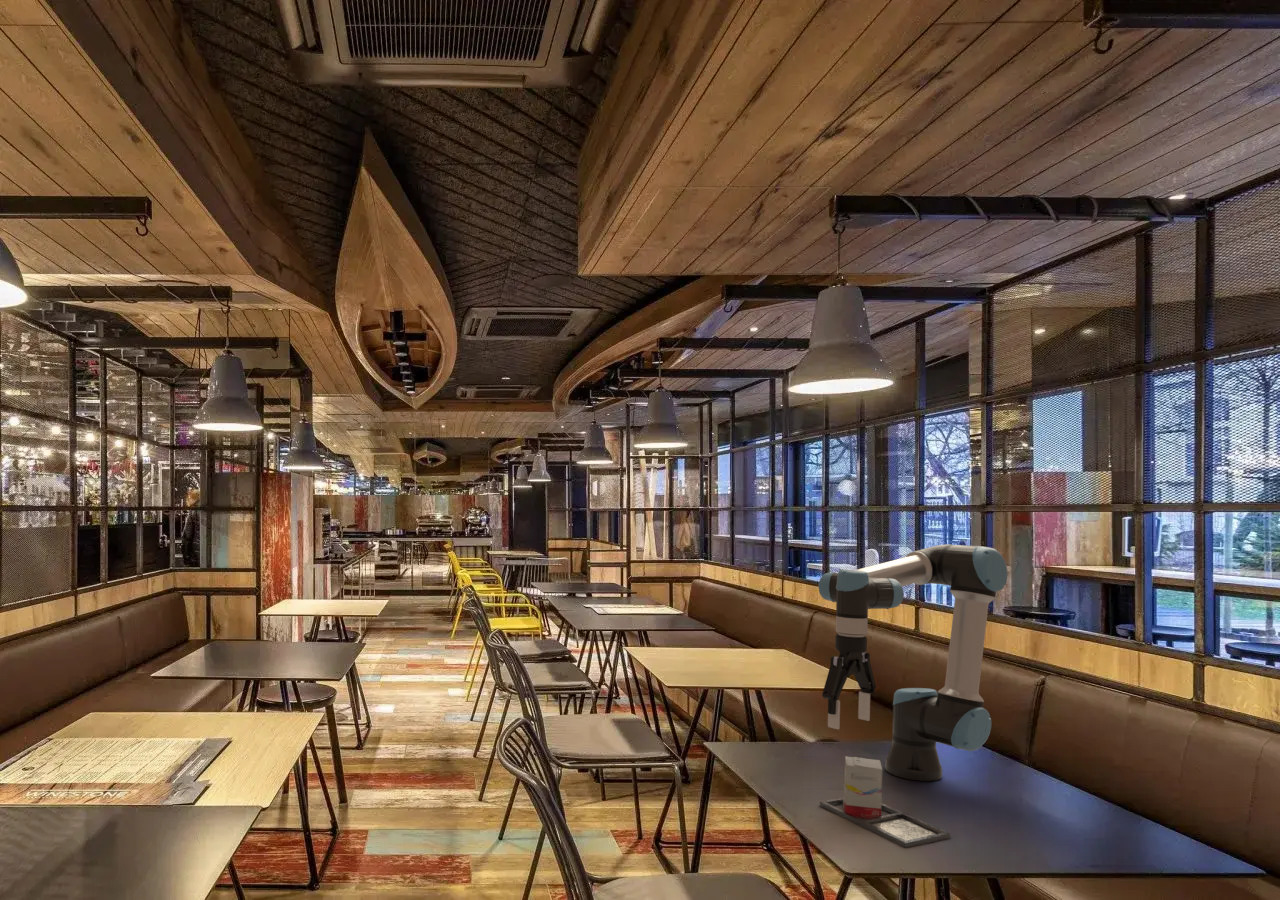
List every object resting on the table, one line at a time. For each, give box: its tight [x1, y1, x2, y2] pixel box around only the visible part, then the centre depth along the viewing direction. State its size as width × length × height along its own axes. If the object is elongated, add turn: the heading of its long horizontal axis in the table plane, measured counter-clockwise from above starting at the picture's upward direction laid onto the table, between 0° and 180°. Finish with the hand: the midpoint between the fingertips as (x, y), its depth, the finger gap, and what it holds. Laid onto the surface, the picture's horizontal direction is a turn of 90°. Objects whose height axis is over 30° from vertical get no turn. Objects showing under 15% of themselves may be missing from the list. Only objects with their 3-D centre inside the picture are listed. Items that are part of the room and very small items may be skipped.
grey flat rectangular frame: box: [819, 797, 951, 849], centre depth 191 cm, size 14×27×1 cm, turn 30°
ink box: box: [842, 755, 883, 819], centre depth 197 cm, size 9×9×12 cm
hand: (849, 723), depth 198 cm, fingers open, 13 cm apart
